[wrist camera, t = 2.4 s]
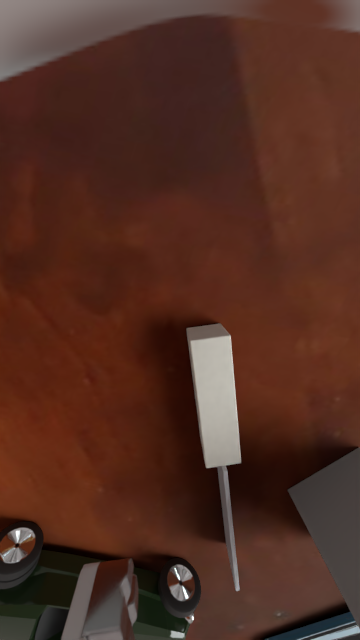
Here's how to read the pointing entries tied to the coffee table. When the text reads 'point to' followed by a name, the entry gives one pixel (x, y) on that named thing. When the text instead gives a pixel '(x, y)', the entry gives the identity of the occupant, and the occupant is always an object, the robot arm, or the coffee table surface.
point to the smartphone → (325, 630)
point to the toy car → (60, 583)
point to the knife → (217, 413)
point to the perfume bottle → (335, 522)
